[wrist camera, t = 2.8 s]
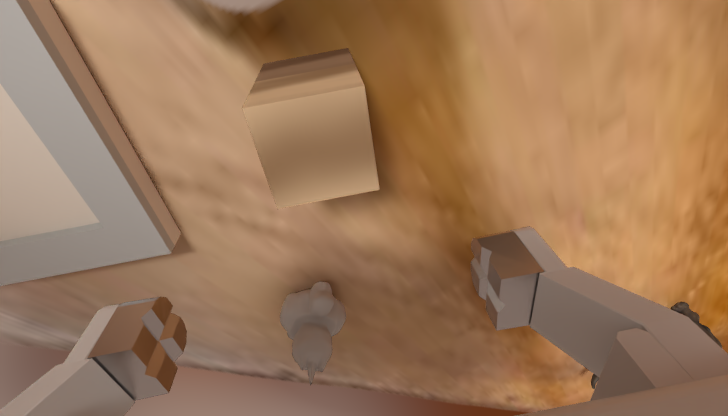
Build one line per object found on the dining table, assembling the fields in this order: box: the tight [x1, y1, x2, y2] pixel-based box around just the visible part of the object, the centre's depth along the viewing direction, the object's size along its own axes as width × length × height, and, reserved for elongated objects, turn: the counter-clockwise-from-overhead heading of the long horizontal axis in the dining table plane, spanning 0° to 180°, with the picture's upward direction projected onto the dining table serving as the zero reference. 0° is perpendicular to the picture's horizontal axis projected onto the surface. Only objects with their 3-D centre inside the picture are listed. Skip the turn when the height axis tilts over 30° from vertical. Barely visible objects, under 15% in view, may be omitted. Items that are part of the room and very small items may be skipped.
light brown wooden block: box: [242, 48, 380, 209], centre depth 19 cm, size 5×5×8 cm
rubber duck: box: [280, 281, 346, 385], centre depth 29 cm, size 5×7×8 cm
